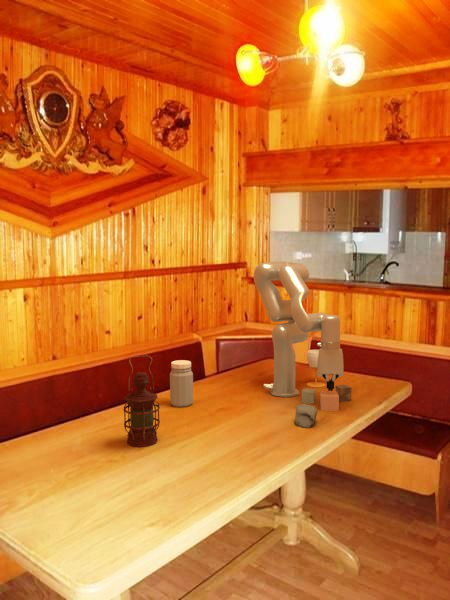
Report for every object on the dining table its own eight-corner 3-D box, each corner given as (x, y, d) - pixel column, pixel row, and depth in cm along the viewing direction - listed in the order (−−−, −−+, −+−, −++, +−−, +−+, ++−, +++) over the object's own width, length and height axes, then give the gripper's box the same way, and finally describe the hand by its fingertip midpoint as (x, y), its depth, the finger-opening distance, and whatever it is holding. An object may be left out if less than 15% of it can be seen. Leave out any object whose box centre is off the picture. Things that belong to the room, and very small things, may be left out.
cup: (302, 383, 268) (303, 350, 266) (318, 381, 272) (319, 348, 270) (313, 388, 260) (313, 354, 258) (329, 386, 264) (330, 352, 262)
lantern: (126, 449, 185) (123, 360, 182) (122, 437, 197) (120, 353, 194) (162, 446, 189) (161, 358, 185) (157, 433, 200) (155, 350, 197)
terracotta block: (321, 410, 227) (321, 396, 226) (320, 405, 234) (320, 391, 233) (338, 411, 226) (338, 396, 225) (337, 405, 233) (337, 391, 232)
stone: (288, 425, 208) (293, 399, 211) (295, 430, 216) (300, 404, 219) (311, 429, 204) (316, 402, 207) (318, 433, 212) (322, 407, 215)
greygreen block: (301, 403, 237) (301, 391, 236) (303, 399, 242) (303, 388, 241) (313, 404, 236) (313, 392, 235) (315, 400, 240) (315, 389, 240)
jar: (182, 409, 229) (182, 365, 227) (165, 405, 235) (164, 362, 233) (198, 403, 237) (197, 361, 235) (180, 399, 242) (180, 358, 241)
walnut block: (340, 402, 238) (340, 388, 237) (335, 398, 243) (335, 385, 242) (351, 401, 239) (351, 387, 239) (346, 397, 244) (346, 384, 243)
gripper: (312, 347, 224) (312, 392, 226) (350, 347, 222) (350, 392, 224) (311, 344, 231) (311, 387, 233) (348, 344, 230) (347, 388, 232)
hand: (330, 390), depth 229 cm, fingers closed
